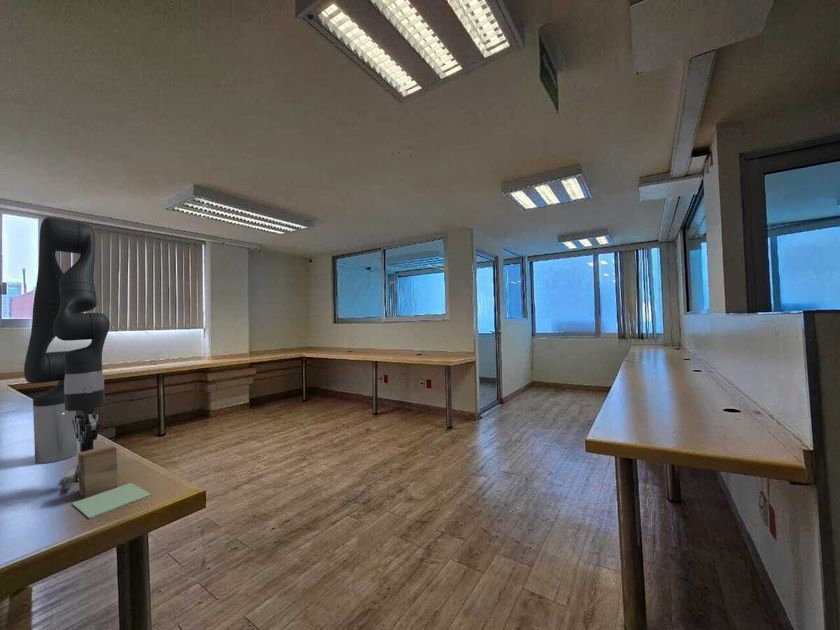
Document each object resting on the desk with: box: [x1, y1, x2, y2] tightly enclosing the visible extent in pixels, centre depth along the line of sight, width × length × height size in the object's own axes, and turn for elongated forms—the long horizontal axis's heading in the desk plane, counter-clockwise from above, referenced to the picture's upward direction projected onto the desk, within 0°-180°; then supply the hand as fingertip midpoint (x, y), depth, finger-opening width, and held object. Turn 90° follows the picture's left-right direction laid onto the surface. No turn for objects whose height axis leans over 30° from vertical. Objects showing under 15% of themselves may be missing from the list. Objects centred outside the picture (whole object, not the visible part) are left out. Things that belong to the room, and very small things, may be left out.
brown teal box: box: [77, 444, 119, 499], centre depth 87 cm, size 5×6×10 cm
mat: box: [71, 482, 152, 519], centre depth 82 cm, size 12×11×1 cm
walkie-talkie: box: [63, 463, 79, 492], centre depth 95 cm, size 9×4×20 cm
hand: (87, 456), depth 91 cm, fingers closed
